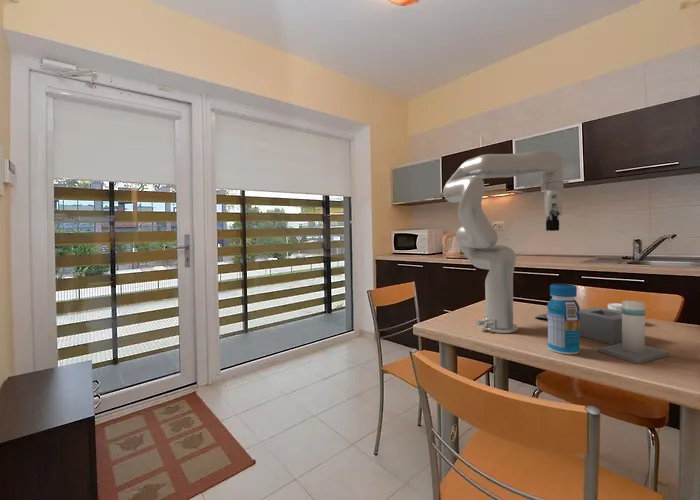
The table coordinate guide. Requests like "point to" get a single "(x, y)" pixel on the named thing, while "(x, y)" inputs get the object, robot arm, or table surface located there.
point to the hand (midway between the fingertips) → (552, 230)
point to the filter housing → (601, 324)
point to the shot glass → (615, 306)
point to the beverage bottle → (563, 319)
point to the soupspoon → (542, 316)
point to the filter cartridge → (633, 326)
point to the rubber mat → (634, 357)
